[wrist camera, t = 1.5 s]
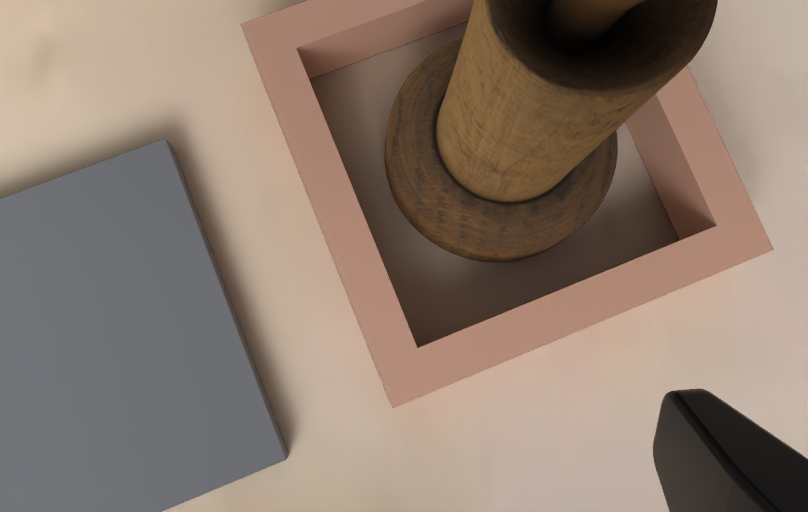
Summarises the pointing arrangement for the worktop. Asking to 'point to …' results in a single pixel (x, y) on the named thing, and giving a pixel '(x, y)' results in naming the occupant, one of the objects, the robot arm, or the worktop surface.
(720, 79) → the worktop surface
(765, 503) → the robot arm
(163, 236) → the mat
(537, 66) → the mortar and pestle
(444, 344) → the tray
